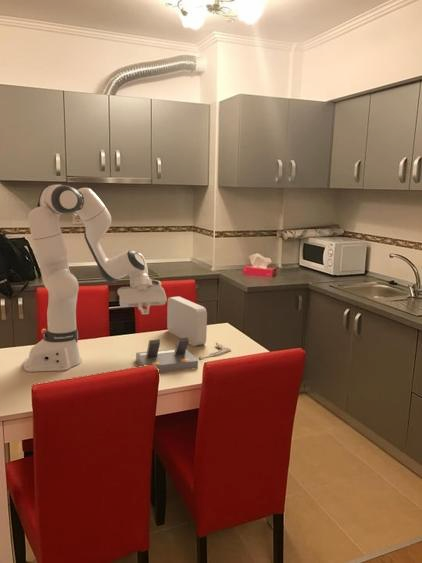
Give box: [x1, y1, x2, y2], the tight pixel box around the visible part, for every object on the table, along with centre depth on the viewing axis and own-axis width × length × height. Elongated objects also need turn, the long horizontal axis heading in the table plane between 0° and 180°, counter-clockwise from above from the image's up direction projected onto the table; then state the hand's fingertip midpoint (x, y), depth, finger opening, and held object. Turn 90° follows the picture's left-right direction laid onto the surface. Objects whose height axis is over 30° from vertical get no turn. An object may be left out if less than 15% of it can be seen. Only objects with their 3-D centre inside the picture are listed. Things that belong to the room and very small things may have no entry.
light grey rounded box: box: [166, 296, 208, 347], centre depth 224 cm, size 29×8×18 cm, turn 33°
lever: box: [174, 337, 189, 355], centre depth 191 cm, size 5×2×10 cm
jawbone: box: [198, 342, 232, 361], centre depth 205 cm, size 9×20×2 cm, turn 157°
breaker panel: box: [135, 348, 199, 374], centre depth 191 cm, size 22×16×3 cm
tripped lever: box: [146, 339, 161, 358], centre depth 187 cm, size 5×2×10 cm
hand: (145, 313), depth 196 cm, fingers closed
